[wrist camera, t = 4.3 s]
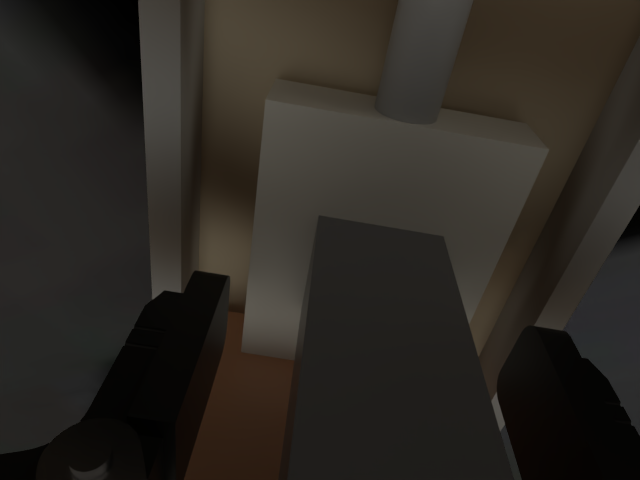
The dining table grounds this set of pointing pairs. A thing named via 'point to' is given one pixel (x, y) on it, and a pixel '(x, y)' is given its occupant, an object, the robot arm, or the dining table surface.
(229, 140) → the beige shallow tray
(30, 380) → the dining table surface
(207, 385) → the robot arm
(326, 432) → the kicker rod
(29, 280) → the dining table surface
